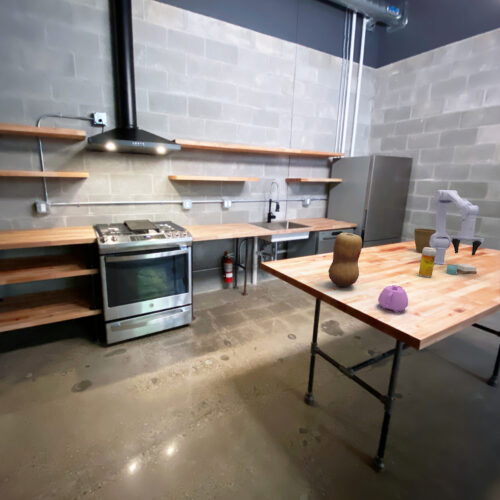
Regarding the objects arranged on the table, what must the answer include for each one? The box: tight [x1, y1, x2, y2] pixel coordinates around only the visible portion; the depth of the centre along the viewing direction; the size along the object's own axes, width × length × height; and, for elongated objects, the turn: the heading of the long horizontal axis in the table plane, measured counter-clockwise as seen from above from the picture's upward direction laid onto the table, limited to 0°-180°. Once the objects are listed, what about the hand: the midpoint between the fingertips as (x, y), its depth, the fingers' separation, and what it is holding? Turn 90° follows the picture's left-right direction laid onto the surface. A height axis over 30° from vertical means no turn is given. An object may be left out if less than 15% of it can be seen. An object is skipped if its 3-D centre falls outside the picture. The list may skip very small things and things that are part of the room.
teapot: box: [377, 284, 409, 314], centre depth 116 cm, size 10×15×9 cm
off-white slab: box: [454, 263, 477, 271], centre depth 165 cm, size 7×7×2 cm
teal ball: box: [445, 263, 458, 276], centre depth 161 cm, size 5×5×5 cm
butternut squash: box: [327, 232, 363, 288], centre depth 137 cm, size 14×13×25 cm
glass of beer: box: [418, 247, 436, 278], centre depth 155 cm, size 6×6×15 cm
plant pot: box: [413, 228, 438, 254], centre depth 207 cm, size 15×15×16 cm
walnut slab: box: [456, 269, 478, 275], centre depth 166 cm, size 8×8×2 cm
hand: (464, 254), depth 157 cm, fingers open, 7 cm apart
